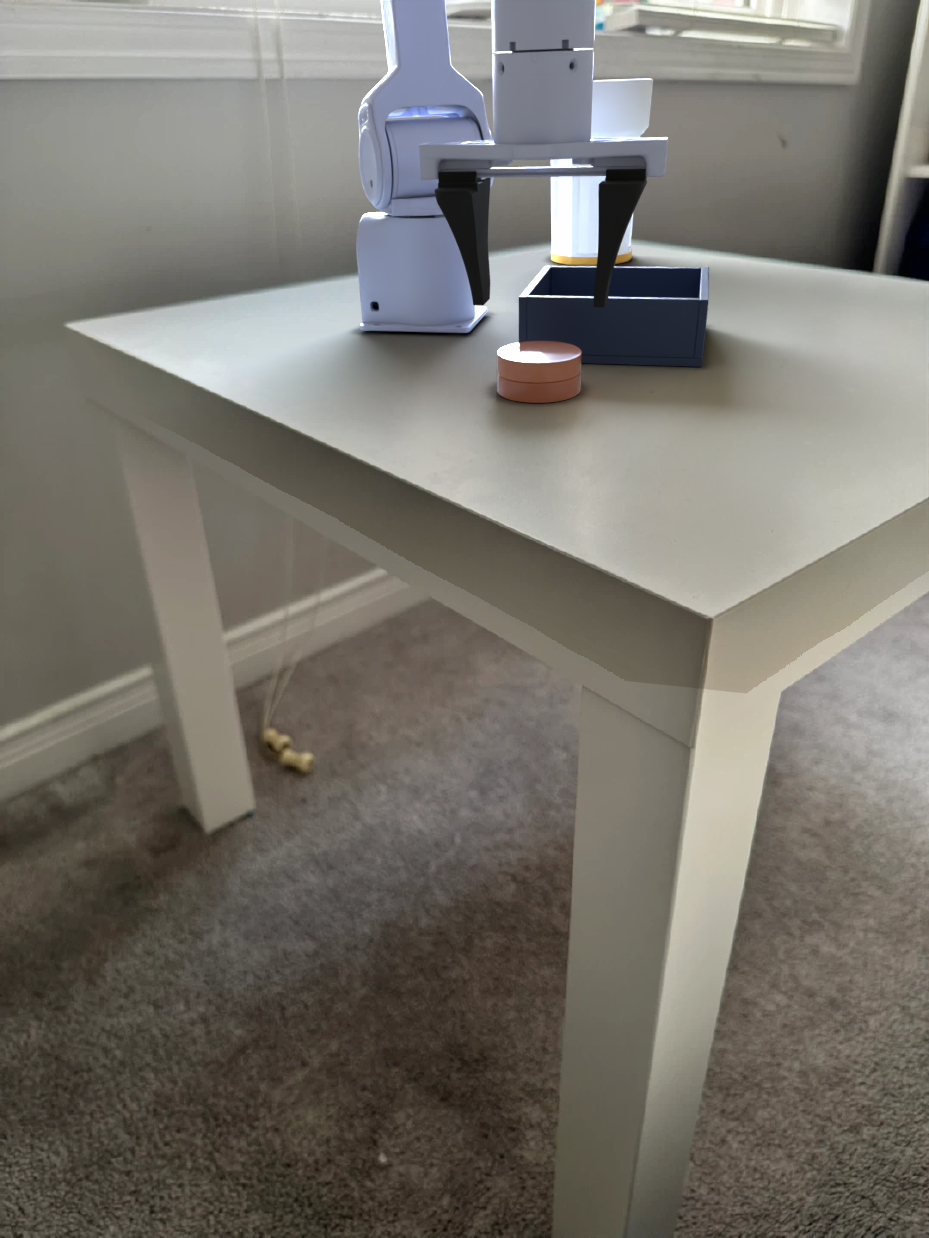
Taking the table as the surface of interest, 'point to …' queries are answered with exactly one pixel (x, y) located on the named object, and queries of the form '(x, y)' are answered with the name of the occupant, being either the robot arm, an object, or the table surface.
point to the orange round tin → (539, 371)
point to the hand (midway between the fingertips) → (540, 303)
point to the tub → (620, 314)
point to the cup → (576, 198)
